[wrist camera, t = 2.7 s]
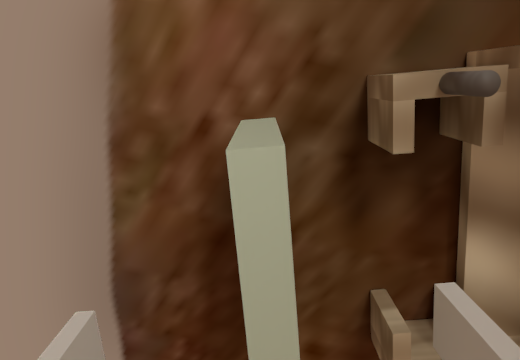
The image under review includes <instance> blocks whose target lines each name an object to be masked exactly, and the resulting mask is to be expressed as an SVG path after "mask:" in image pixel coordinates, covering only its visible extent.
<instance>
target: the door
mask: <svg viewBox="0 0 520 360" xmlns="http://www.w3.org/2000/svg"><path fill="white" fill-rule="evenodd" d="M226 158H227V167H228V176H229V185H230V194H231V203H232V212H233V221H234V230H235V239H236V248H237V257H238V267H239V276H240V285H241V294H242V303H243V312H244V321H245V330H246V339H247V348H248V357H249V360H300V353H299V339H298V325H297V310H296V296H295V282H294V268H293V254H292V240H291V226H290V212H289V197H288V183H287V169H286V155H285V144H284V142H283V139H282V136H281V133H280V130H279V127H278V124H277V121H276V119H275V118H264V119H252V120H241V122H240V124H239V126H238V128H237V130H236V131H235V133H234V135H233V137H232V139H231V141H230V143H229V145H228V147H227V149H226Z"/></svg>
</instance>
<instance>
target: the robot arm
mask: <svg viewBox="0 0 520 360" xmlns="http://www.w3.org/2000/svg"><path fill="white" fill-rule="evenodd" d="M433 347H434V348H435V350H436V351H437V353H438V354H439V356H440V357H441V359H442V360H520V347H519V346H518V345H517V344H516V343H515V342H514V341H513V340H512V339H511V338H510V337H509V336H508V335H507V334H506V333H505V332H504V331H503V330H502V329H501V328H500V327H499V326H498V325H497V324H496V323H495V322H494V321H493V320H492V319H491V318H490V317H489V316H488V315H487V314H486V313H485V312H484V311H483V310H482V309H481V308H480V307H479V306H478V305H477V304H476V303H475V302H474V301H473V300H472V299H471V298H470V297H469V296H468V295H467V294H466V293H465V292H464V291H463V290H462V289H461V288H460V287H459V286H458V285H457V284H456V283H455V282H450V283H437V284H434V320H433ZM37 360H106V359H105V354H104V350H103V345H102V340H101V336H100V331H99V326H98V322H97V317H96V312H95V311H83V312H75V314H74V315H73V316H72V317H71V318H70V320H69V321H68V322H67V323H66V325H65V326H64V327H63V328H62V330H61V331H60V332H59V333H58V335H57V336H56V337H55V338H54V339H53V341H52V342H51V343H50V344H49V346H48V347H47V348H46V349H45V351H44V352H43V353H42V354H41V355H40V357H39V358H38V359H37Z"/></svg>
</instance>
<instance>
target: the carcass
mask: <svg viewBox="0 0 520 360" xmlns="http://www.w3.org/2000/svg"><path fill="white" fill-rule="evenodd" d="M439 97H440V126H439V134H440V135H444V136H447V137H450V138H454V139H457V140H460V141H463V146H462V167H461V188H460V209H459V231H458V252H457V273H456V284H457V285H458V286H459V287H460V288H461V289H462V290H463V291H464V292H465V293H466V294H467V295H468V296H469V297H470V298H471V299H472V300H473V301H474V302H475V303H476V304H477V305H478V306H479V307H480V308H481V309H482V310H483V311H484V312H485V313H486V314H487V315H488V316H489V317H490V318H491V319H492V320H493V321H494V322H495V323H496V324H497V325H498V326H499V327H500V328H501V329H502V330H503V331H504V332H505V333H506V334H507V335H508V336H509V337H510V338H511V339H512V340H513V341H514V342H515V343H516V344H517V345H518V346H519V347H520V45H516V46H509V47H502V48H494V49H487V50H480V51H473V52H467V62H466V67H462V68H450V69H439V70H428V71H417V72H405V73H394V74H383V75H372V76H367V107H368V140H369V141H370V142H372V143H374V144H376V145H377V146H379V147H381V148H383V149H385V150H386V151H388V152H390V153H392V154H403V153H414V123H415V100H416V99H427V98H439ZM370 302H371V339H372V342H373V344H374V346H375V349H376V351H377V354H378V356H379V358H380V360H442V359H441V357H440V356H439V354H438V353H437V351H436V350H435V348H434V347H433V320H434V316H433V319H421V320H407V321H404V319H403V318H402V316H401V314H400V313H399V311H398V309H397V308H396V306H395V304H394V302H393V301H392V299H391V297H390V296H389V294H388V292H387V291H386V289H379V290H370Z"/></svg>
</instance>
